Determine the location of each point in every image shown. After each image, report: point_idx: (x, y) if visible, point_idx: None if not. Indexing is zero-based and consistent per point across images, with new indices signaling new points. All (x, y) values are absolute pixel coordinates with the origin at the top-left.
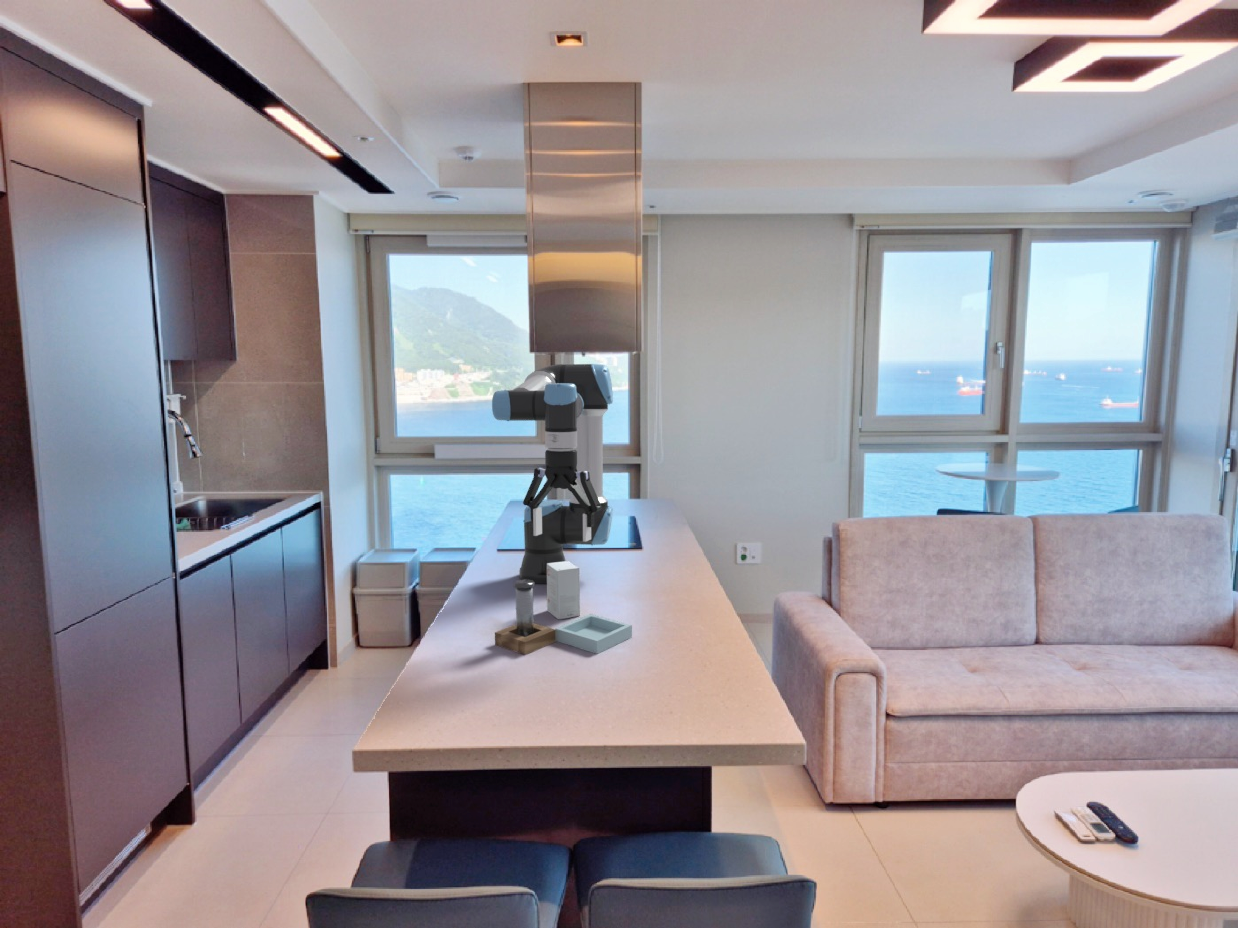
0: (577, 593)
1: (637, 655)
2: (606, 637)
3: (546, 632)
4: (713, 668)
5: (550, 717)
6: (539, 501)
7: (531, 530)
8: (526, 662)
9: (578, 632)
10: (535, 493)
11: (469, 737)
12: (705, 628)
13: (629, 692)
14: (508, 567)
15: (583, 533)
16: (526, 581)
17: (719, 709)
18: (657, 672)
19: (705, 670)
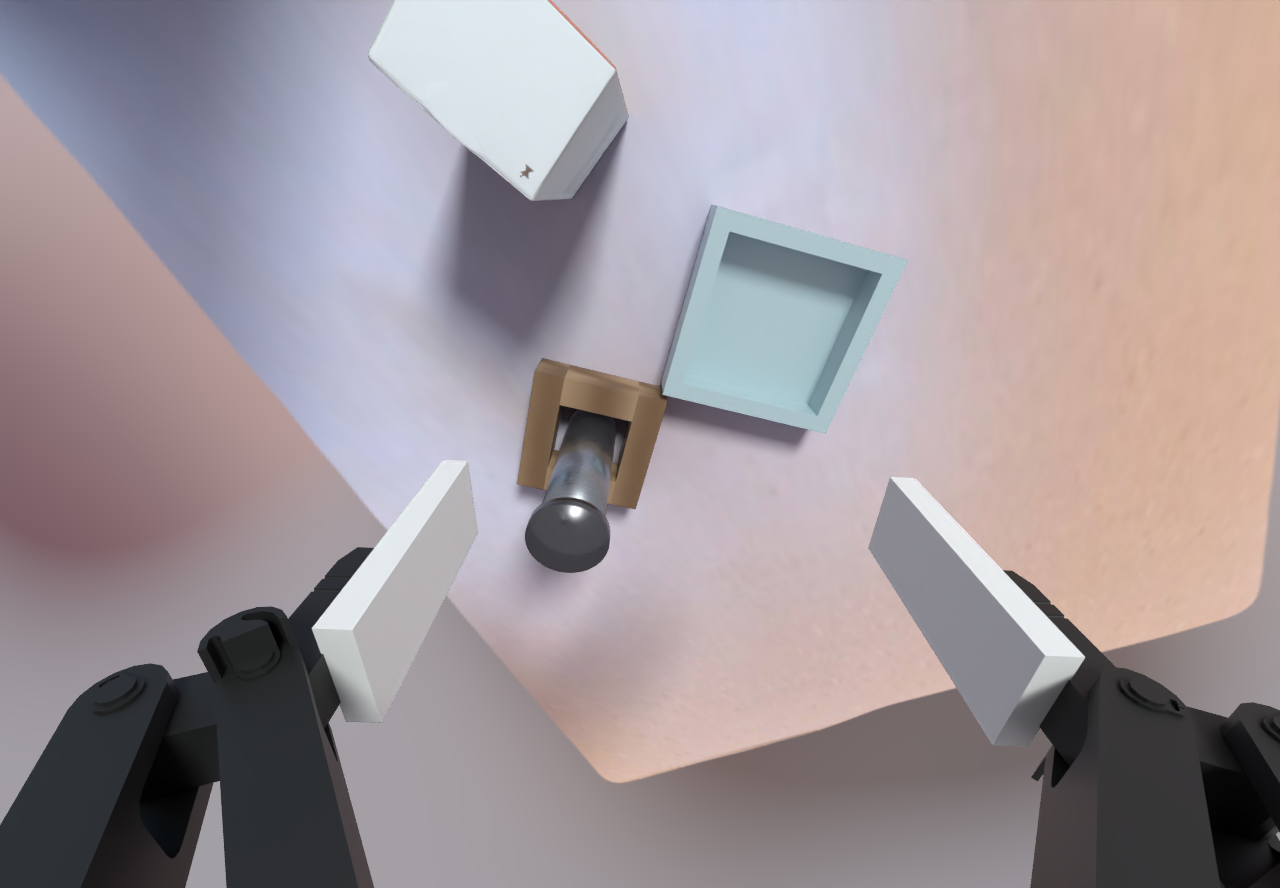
0: (618, 112)
1: (928, 385)
2: (843, 394)
3: (653, 432)
4: (1154, 386)
5: (814, 671)
6: (343, 788)
7: None
8: (662, 522)
9: (708, 311)
10: (106, 870)
11: (721, 738)
12: (1186, 20)
13: None
14: None
15: (899, 589)
16: (567, 526)
17: (1133, 562)
18: (994, 460)
19: (1128, 406)
